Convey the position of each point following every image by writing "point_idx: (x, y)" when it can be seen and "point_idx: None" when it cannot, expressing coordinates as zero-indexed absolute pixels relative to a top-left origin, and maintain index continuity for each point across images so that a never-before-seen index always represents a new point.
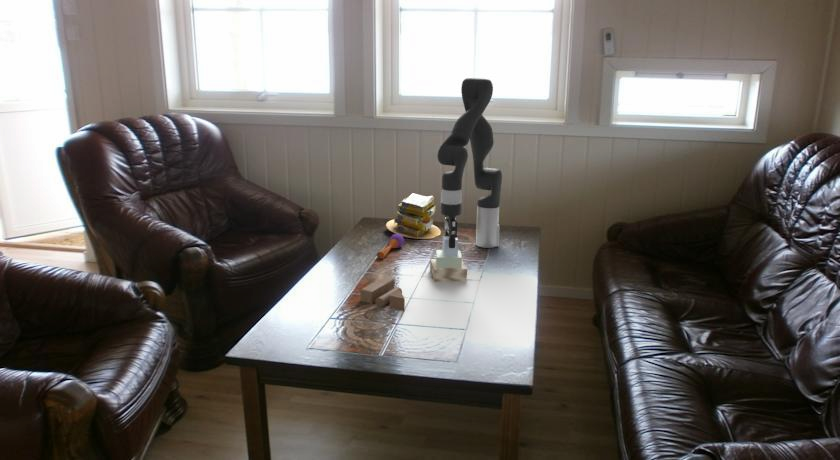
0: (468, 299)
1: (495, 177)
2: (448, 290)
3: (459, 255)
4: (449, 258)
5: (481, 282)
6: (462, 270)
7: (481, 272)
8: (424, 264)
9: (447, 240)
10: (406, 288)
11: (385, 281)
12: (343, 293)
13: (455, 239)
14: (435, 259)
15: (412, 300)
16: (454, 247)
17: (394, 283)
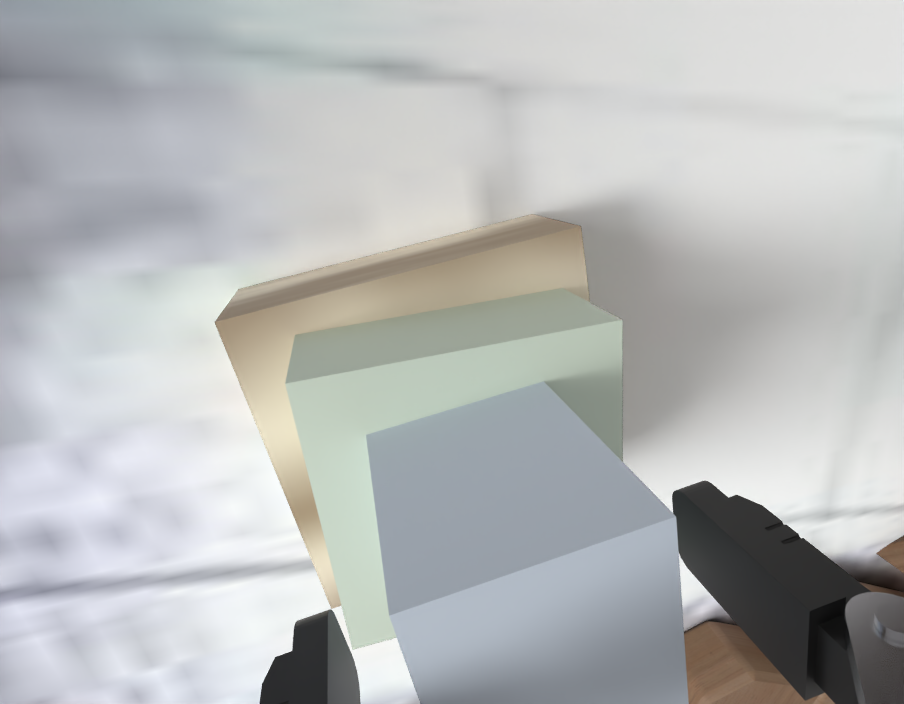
0: (893, 175)
1: None
2: (729, 332)
3: (528, 361)
4: (617, 454)
5: (556, 67)
6: (581, 271)
7: (256, 64)
8: (185, 603)
9: (682, 667)
10: (690, 572)
11: (790, 700)
12: None
13: (646, 570)
14: (330, 566)
15: (856, 498)
16: (705, 485)
17: (734, 650)
